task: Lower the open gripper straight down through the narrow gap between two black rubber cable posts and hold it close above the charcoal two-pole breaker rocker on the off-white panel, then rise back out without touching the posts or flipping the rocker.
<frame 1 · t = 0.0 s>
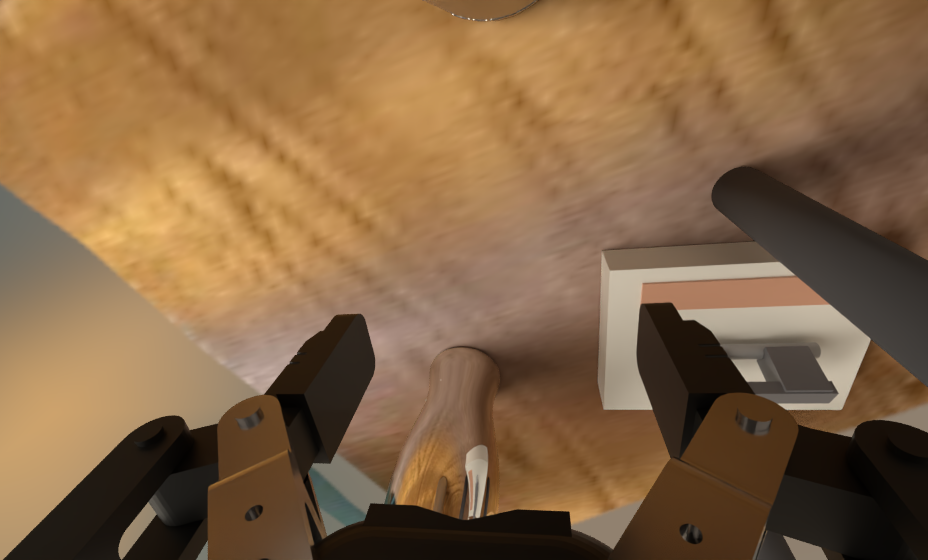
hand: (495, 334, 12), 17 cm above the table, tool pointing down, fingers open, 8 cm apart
beer glass: (465, 372, 36), on the table
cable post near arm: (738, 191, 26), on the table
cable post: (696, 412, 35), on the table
breaker panel: (714, 318, 30), on the table
breaker rocker: (745, 370, 26), point 5 cm above the table, hinge at 18.0°
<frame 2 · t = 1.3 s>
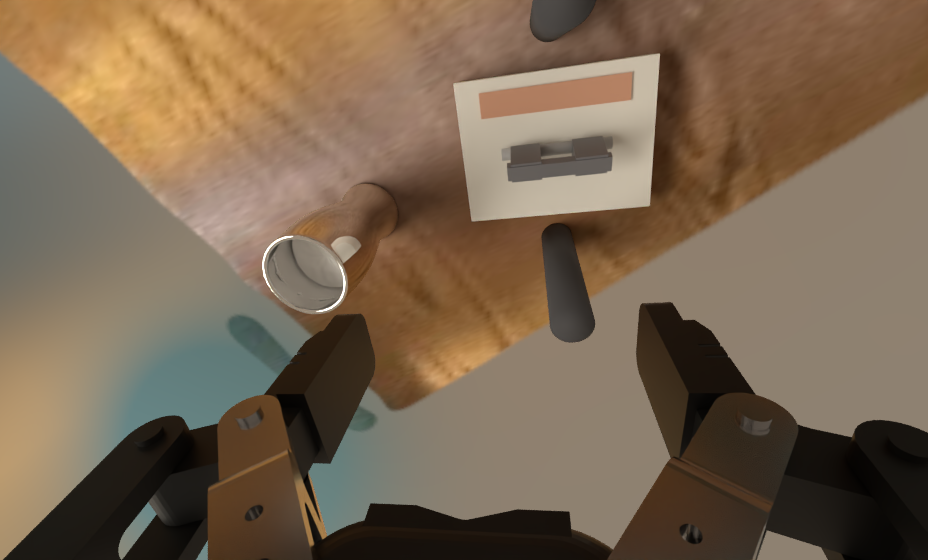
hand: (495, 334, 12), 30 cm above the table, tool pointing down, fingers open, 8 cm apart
beer glass: (371, 211, 44), on the table
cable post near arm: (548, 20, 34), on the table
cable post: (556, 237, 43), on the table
breaker panel: (552, 141, 38), on the table
breaker rocker: (556, 157, 34), point 5 cm above the table, hinge at 18.0°
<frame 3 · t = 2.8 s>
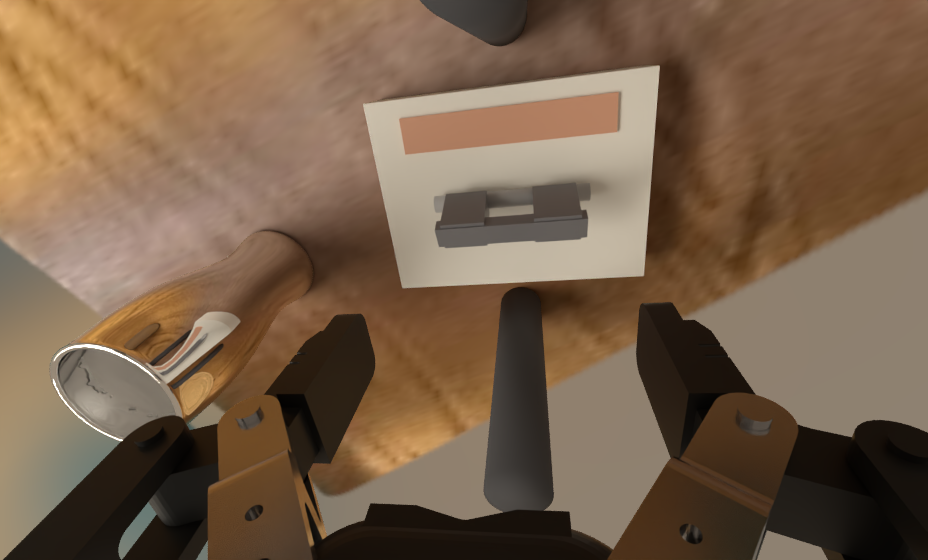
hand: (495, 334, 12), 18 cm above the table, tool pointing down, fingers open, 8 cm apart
beer glass: (278, 264, 34), on the table
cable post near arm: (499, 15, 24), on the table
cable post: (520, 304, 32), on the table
breaker panel: (511, 182, 28), on the table
breaker rocker: (510, 212, 24), point 5 cm above the table, hinge at 18.0°
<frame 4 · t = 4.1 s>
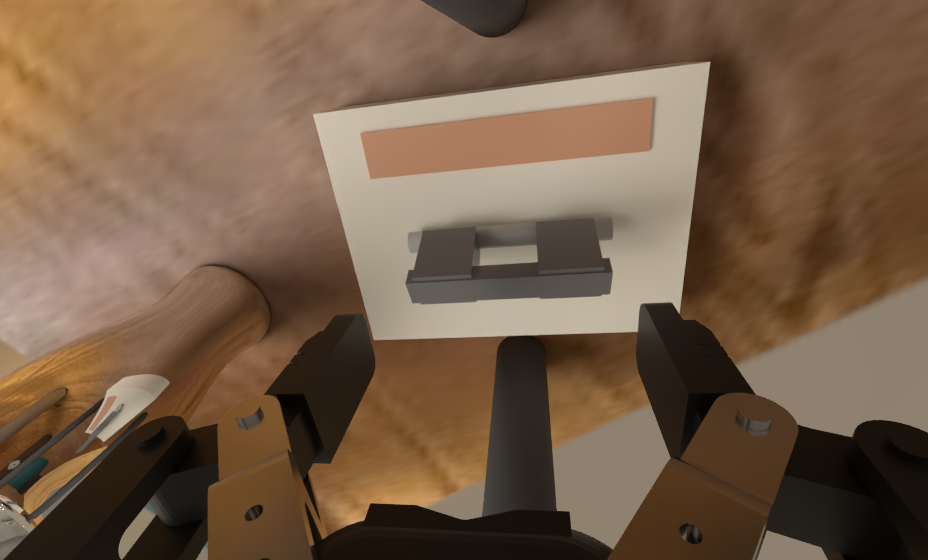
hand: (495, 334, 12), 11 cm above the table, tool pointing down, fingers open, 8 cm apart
beer glass: (229, 304, 28), on the table
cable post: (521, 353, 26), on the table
breaker panel: (509, 209, 22), on the table
breaker rocker: (506, 256, 18), point 5 cm above the table, hinge at 18.0°
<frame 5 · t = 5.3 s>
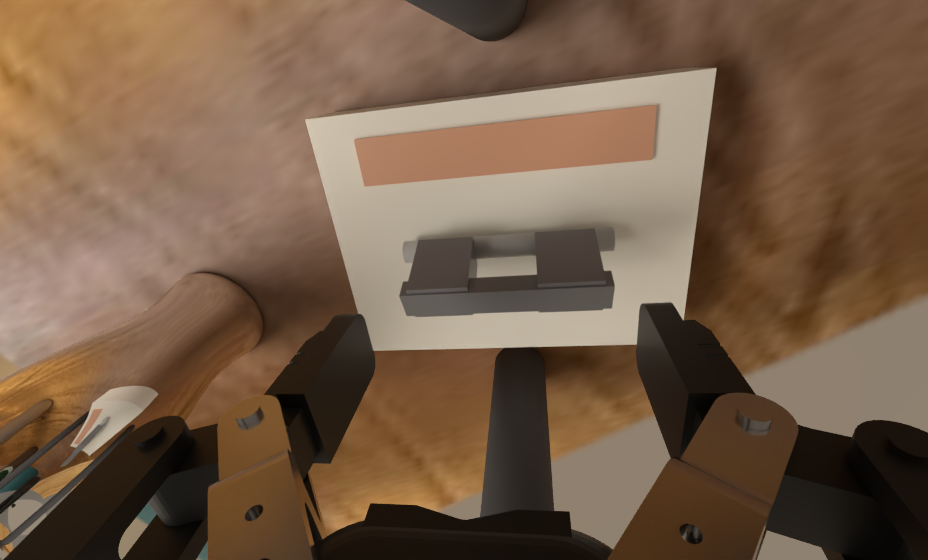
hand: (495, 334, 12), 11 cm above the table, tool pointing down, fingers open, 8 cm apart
beer glass: (221, 312, 27), on the table
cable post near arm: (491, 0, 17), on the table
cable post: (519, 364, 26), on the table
breaker panel: (508, 217, 22), on the table
breaker rocker: (504, 267, 17), point 5 cm above the table, hinge at 18.0°
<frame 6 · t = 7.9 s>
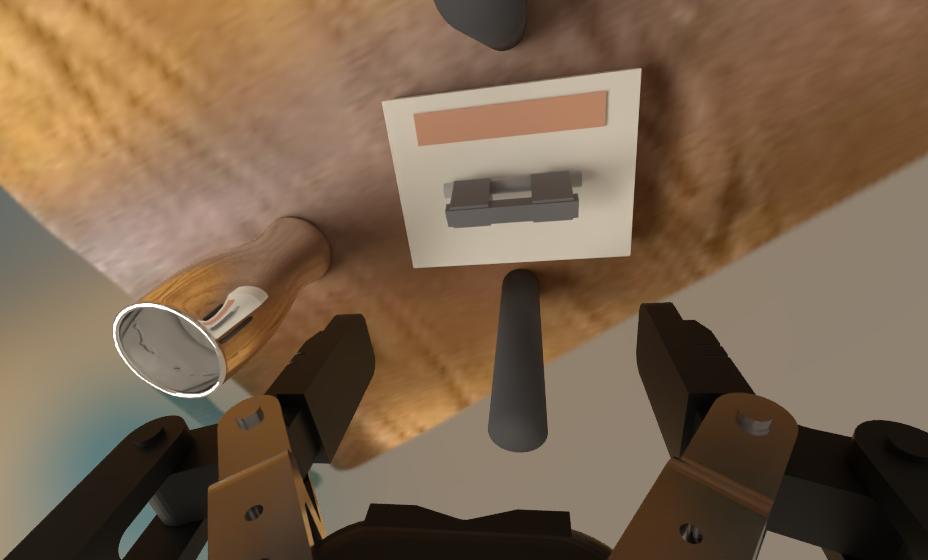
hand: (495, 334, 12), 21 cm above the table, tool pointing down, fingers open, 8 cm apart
beer glass: (299, 249, 37), on the table
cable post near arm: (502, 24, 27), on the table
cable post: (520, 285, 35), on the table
breaker panel: (512, 172, 31), on the table
breaker rocker: (511, 196, 27), point 5 cm above the table, hinge at 18.0°
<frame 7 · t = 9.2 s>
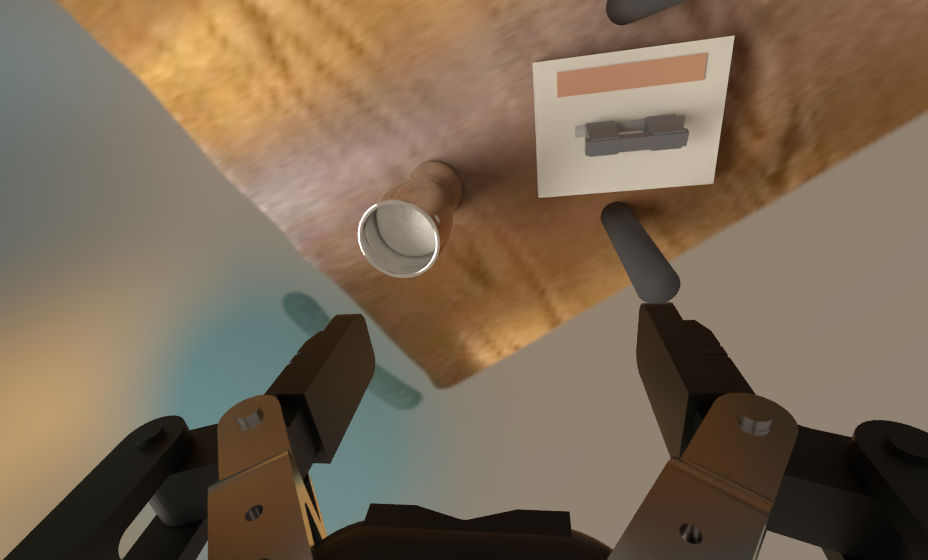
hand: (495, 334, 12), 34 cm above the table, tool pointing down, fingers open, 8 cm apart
beer glass: (435, 188, 46), on the table
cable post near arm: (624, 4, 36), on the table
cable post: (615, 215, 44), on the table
breaker panel: (619, 121, 40), on the table
breaker rocker: (631, 133, 36), point 5 cm above the table, hinge at 18.0°
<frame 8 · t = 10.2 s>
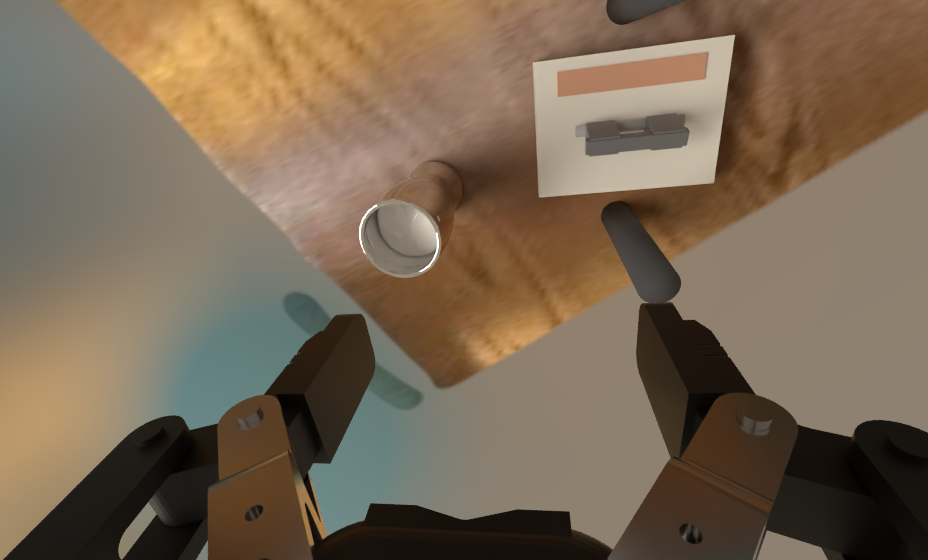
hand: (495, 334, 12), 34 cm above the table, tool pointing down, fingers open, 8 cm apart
beer glass: (435, 188, 46), on the table
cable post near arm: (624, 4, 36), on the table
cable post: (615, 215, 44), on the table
breaker panel: (619, 120, 40), on the table
breaker rocker: (631, 133, 36), point 5 cm above the table, hinge at 18.0°
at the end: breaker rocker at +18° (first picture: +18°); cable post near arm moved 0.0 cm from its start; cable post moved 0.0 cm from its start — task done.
